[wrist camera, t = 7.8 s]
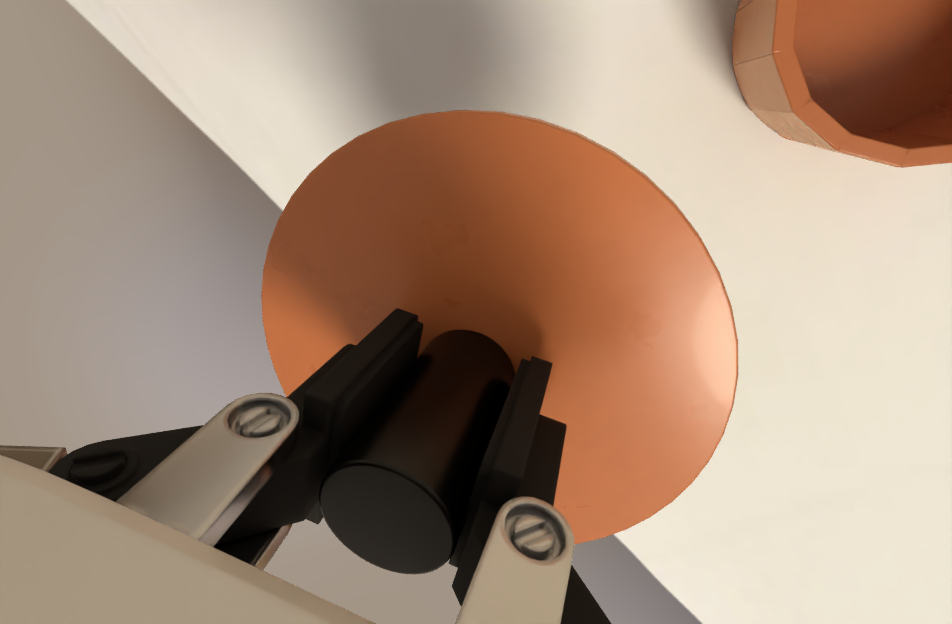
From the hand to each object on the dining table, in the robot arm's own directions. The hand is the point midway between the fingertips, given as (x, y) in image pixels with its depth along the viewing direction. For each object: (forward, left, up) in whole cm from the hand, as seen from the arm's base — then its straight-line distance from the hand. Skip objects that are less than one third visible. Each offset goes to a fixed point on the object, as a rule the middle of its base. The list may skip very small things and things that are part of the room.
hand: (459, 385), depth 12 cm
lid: (0, 0, -1) cm, 1 cm away
